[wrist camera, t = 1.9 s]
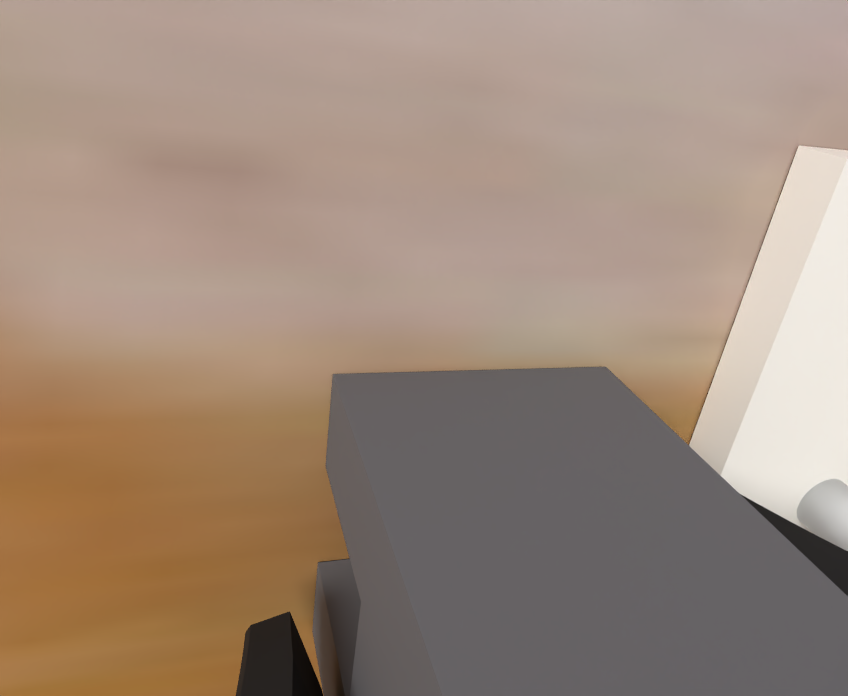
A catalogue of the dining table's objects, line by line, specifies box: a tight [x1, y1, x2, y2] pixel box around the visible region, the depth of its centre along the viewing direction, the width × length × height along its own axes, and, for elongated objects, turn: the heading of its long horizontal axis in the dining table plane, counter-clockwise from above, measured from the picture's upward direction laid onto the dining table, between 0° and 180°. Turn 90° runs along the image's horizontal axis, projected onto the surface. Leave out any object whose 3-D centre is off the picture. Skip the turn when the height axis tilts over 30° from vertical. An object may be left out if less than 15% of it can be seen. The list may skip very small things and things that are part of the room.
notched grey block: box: [313, 367, 848, 696], centre depth 10 cm, size 6×5×6 cm
